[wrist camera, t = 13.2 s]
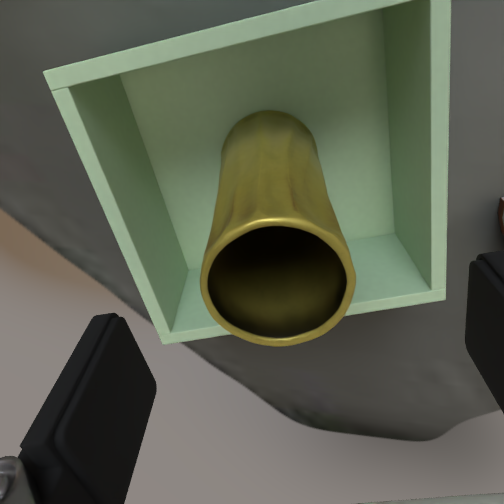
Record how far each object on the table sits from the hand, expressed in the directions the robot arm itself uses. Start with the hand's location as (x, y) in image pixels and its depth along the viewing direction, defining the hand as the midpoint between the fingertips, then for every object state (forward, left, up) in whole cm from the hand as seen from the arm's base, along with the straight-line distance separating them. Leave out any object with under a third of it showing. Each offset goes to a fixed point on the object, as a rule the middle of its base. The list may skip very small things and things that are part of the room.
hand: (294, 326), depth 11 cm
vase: (0, 0, -17) cm, 17 cm away
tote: (0, 0, -18) cm, 18 cm away
